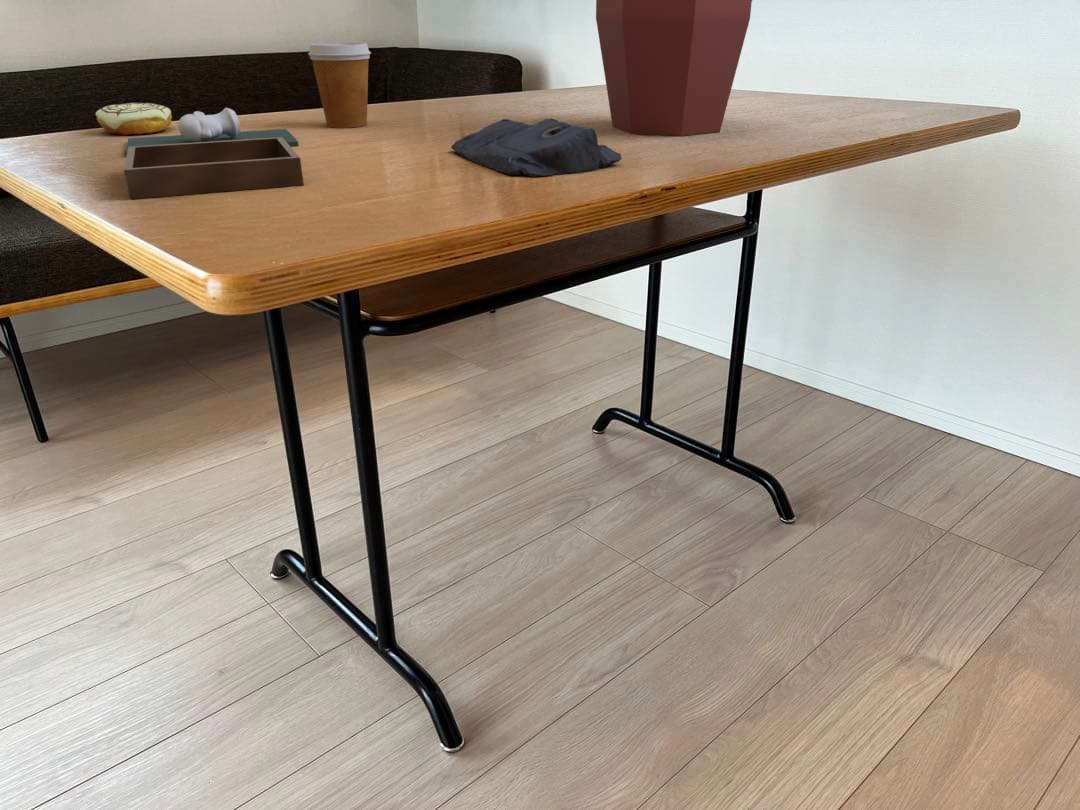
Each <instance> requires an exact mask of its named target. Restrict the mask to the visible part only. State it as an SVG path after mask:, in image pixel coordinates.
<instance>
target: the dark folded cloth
mask: <svg viewBox="0 0 1080 810" xmlns="http://www.w3.org/2000/svg"><path fill="white" fill-rule="evenodd" d="M597 135H598V134H597V131H596V129H595V128H587V127H584V126H580V125H571V124H570V123H567V122H565V121H559V120H557V119H555V118H552V117H551V118H546V119H542V120H541V121H537V122H536V123H534V124H528V123H526V122H522V121H521V122H520V121H514V120H511V119H508V118H504V119H501V120H497V121H496V122H493V123H491V124H489V125H487V126H485V127H483V128H482V129H480V130H478V131H476V132H472V133H470V134H468V135H466V136H464V137H462V138H460V139H457V140H456V141H455V142H454V143H453V144H452V145H451V146H450V148H451V149H452V150H453V151H454V152H455V153H457V154H458V156H460V157H462V158H464V159H467V160H468V161H470V162H473V163H475V164H479V165H481V166H483V167H486V168H489V169H492V170H495V171H496V172H500V173H504V174H506V175H510V176H521V175H525V176H528V177H530V178H537V177H546V176H554V175H559V174H560V175H562V174H571V173H574V174H575V173H584V172H591V171H595V170H597V169H600V168H601V169H603V168H606V167H608V166H609V165H613V164H615V163H618V162H620V161H621V160H622V158H623V157H622V155H621V153H620V152H617V151H614V150H613V149H612V148H610V147H608V146H607V145H606V144H599V142H598V141H599V140H598V136H597Z"/></svg>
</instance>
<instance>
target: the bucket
mask: <svg viewBox="0 0 1080 810" xmlns="http://www.w3.org/2000/svg"><path fill="white" fill-rule="evenodd" d="M752 2H753V0H595V21H596V27H597V33H598V40H599V48H600V53H601V60H602V66H603V71H604V72H603V73H604V79H605V86H606V93H607V98H608V105H609V113H610V119H611V125H612V128H615V129H618V130H620V131H623V132H625V133H629V134H631V135H632V134H633V135H651V136H669V137H671V136H673V137H685V136H686V137H687V136H695V135H704V134H705V135H706V134H713V133H720V132H721V129H722V125H723V121H724V118H725V115H726V110H727V107H728V102H729V99H730V97H731V96H730V95H731V92H732V88H733V84H734V81H735V77H736V72H737V70H738V69H737V68H738V65H739V62H740V58H741V54H742V51H743V46H744V42H745V39H746V35H747V31H748V27H749V24H750V20H751V15H752Z"/></svg>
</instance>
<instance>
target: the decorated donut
mask: <svg viewBox="0 0 1080 810" xmlns="http://www.w3.org/2000/svg"><path fill="white" fill-rule="evenodd" d="M95 116H96V121H97V123H98V124H99V126H101V128H102V129H103V130H104V131H105V132H107V133H109V134H116V135H122V136H123V135H124V136H129V135H146V134H153V133H158V132H162V131H167V130H169V128H170V126H171V124H172V118H173V116H172V110H171V109H170V108H169V107H167V106H165V105H161V104H157V103H148V102H129V103H127V102H126V103H121V104H110V105H106V106H104V107H101V108H99V109H98V110H97V111H96V112H95Z"/></svg>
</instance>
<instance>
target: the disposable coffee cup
mask: <svg viewBox="0 0 1080 810" xmlns="http://www.w3.org/2000/svg"><path fill="white" fill-rule="evenodd" d="M371 54H372V52H371V51H370V50H369V46H368V43H367V42H350V41H349V42H345V41H342V42H341V41H340V42H339V41H338V42H317V43H311V44H309V52H308V53H307V55H308V56H309V59H310V60H311V61H312V62H311V63H312V66H313V67H312V68H313V72H314V75H315V79H316V83H317V88H318V93H319V97H320V102H321V105H322V109H323V113H324V114H323V115H324V118H325V122H326V126H327V127H329V128H338V129H340V128H341V129H347V128H348V129H350V128H359V127H365V126H367V124H368V95H369V94H368V93H369V90H368V89H369V59H370V58H371V57H370V55H371Z"/></svg>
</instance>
